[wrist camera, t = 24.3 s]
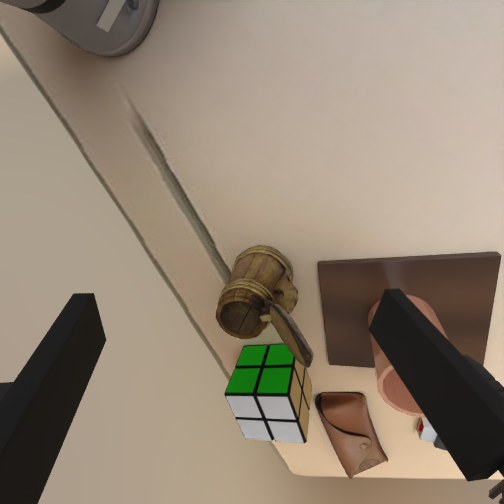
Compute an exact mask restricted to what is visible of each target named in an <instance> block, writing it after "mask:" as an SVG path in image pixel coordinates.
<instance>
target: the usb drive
mask: <svg viewBox="0 0 504 504" xmlns="http://www.w3.org/2000/svg"><path fill="white" fill-rule="evenodd" d="M417 431H418V435H419V438H420V440H425V441H429V442H433V443H434V446H435V447H436V448H439V449H443V450H447V449H446V447H445V446H444V444H443V443H442V441H441V440H440V438H439V437H438V435H437V434H436V432H435V431H434V429H433V428H432V426H431V424H430V423H429V421H428V420H427V418H425V417H421V418H420V421H419V424H418V427H417ZM447 451H448V450H447Z"/></svg>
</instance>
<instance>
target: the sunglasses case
mask: <svg viewBox="0 0 504 504" xmlns="http://www.w3.org/2000/svg"><path fill="white" fill-rule="evenodd" d="M315 405H316V408H317V410H318V412H319V415H320V418H321V420H322V423H323V425H324V427H325V430H326V432H327V434H328V436H329V439H330V441H331V443H332V445H333V447H334V450H335V452H336V454H337V456H338V458H339V460H340V462H341V464H342V466H343V468H344V470H345V472H346V474H347V475H348V477H349V478H350V479H352V478H353V475H356V474H358V473H360V472H362V471H365V470H367V469H369V468H371V467H374V466H376V465H378V464H380V463H382V462H384V461H386V462H387V461H388V458H387V457H386V455H385V453H384V451H383V450H382V448H381V446H380V443H379V441H378V438H377V435H376V433H375V430H374V427H373V424H372V421H371V419H370V415H369V412H368V408H367V403H366V398H365V396H364V395H362V394H359V393H349V392H325V393H324V392H323V393H321V394H319V395H318V396H317V397H316V399H315Z"/></svg>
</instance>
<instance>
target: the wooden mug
mask: <svg viewBox="0 0 504 504" xmlns="http://www.w3.org/2000/svg"><path fill="white" fill-rule="evenodd" d="M292 280H293V269H292V266H291V264H290V262H289V261H288V260H287V259H286V257H285V256H283V255H282V254H281V253H280V252H279V251H277V250H275V249H273V248H272V247H267V246H260V245H258V246H255V247H252V248H249V249H247V250H246V251H244V252H243V253H241V254H240V255H239V256H238V257H237V258H236V261H235V263H234V266H233V269H232V275H231V277H230V280H229V282H228V285H226V286H225V287H224V289H223V290H222V292H221V295H220V297H219V301H218V308H217V311H216V319H217V321H218V323H219V325H220V326H221V328H222V329H223V330H224V331H225V332H226V333H228V334H229V335H231V336H234V337H237V338H240V339H250V338H254V337H257V336H258V335H260V334H261V332H262V331H263V330H264V329H266V327H267V326H268V324H269V323H270V321H271V323H272V324H273V325H274V327H275V329H276V330H277V332H278V333H279V335H280V337H281V339H282V340H283V342H284V343H285V345H286V346H287V348H288V349H289V351H290V352H291V353H292V355H293V356H294V357H295V359H296V360H297V361H298V362H299V363H300V364H301V365H303V366H305V367H310V365H311V362H312V360H313V352H312V350H311V348H310V347H309V345H308V343H307V341H306V340H305V338H304V336H303V335H302V333H301V331H300V330H299V328H298V326H297V325H296V323H295V322H294V320H293V319H292V317H291V316H290V315H289V314H290V313H291V312H292V311H293V309H294V307H295V306H296V303H297V300H298V290H297V289H296V288H295V287H294V285H292Z"/></svg>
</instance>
